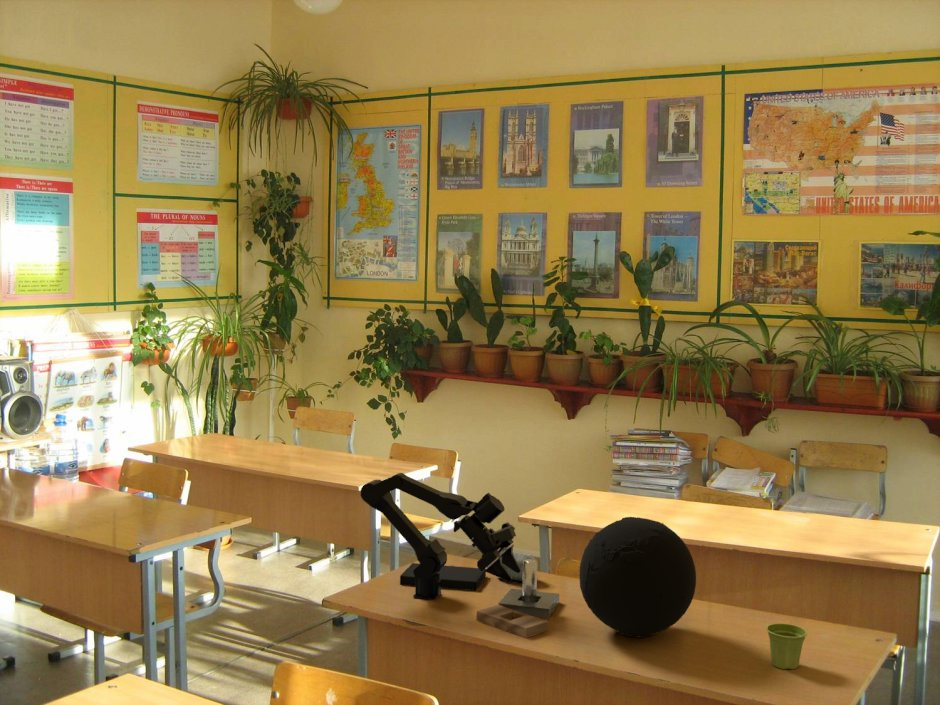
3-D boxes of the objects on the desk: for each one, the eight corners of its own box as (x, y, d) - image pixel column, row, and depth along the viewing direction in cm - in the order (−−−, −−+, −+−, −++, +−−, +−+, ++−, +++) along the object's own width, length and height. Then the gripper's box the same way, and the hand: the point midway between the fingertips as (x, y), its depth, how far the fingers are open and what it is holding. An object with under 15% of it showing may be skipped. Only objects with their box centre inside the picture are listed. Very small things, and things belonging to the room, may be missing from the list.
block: (498, 612, 280) (498, 603, 280) (511, 597, 294) (511, 588, 294) (548, 617, 276) (548, 608, 276) (559, 602, 290) (559, 593, 290)
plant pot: (812, 665, 246) (813, 629, 245) (795, 676, 239) (796, 639, 238) (775, 655, 252) (776, 620, 251) (757, 665, 245) (759, 629, 244)
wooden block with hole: (476, 620, 274) (476, 610, 274) (497, 613, 279) (497, 604, 279) (525, 637, 261) (526, 628, 261) (546, 630, 266) (547, 621, 266)
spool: (484, 569, 310) (499, 539, 311) (496, 576, 317) (511, 547, 319) (520, 588, 302) (535, 558, 304) (532, 595, 310) (547, 565, 312)
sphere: (697, 621, 276) (701, 511, 274) (690, 660, 247) (694, 538, 245) (588, 609, 284) (590, 502, 282) (569, 646, 255) (572, 527, 253)
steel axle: (524, 609, 283) (524, 563, 282) (520, 605, 287) (521, 559, 286) (538, 609, 284) (538, 563, 283) (534, 604, 288) (535, 559, 287)
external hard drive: (412, 572, 318) (412, 562, 318) (485, 578, 313) (486, 568, 313) (400, 585, 304) (400, 575, 304) (476, 591, 300) (476, 581, 299)
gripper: (489, 523, 277) (528, 567, 275) (507, 508, 295) (543, 550, 292) (461, 548, 280) (498, 593, 278) (480, 532, 298) (516, 574, 295)
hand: (515, 576), depth 286 cm, fingers open, 9 cm apart
